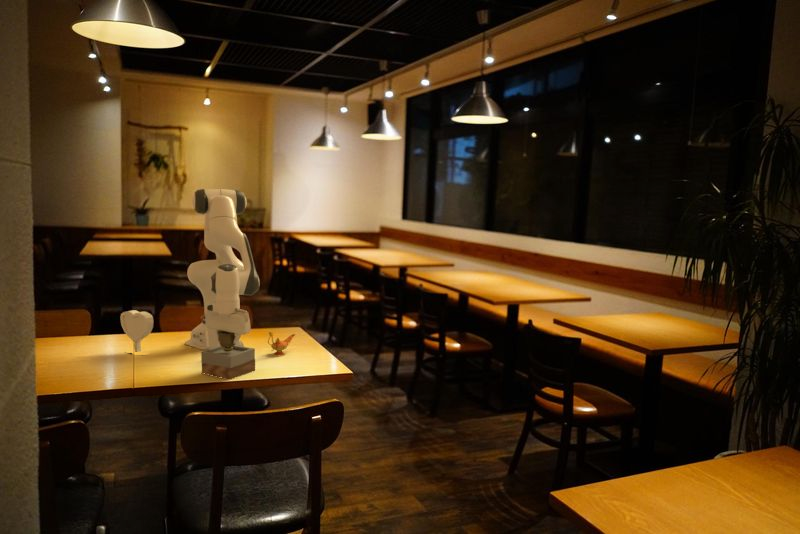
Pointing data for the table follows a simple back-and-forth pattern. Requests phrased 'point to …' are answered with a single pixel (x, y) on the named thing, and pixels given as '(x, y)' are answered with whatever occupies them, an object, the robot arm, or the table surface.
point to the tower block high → (228, 356)
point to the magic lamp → (280, 344)
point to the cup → (226, 340)
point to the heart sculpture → (137, 326)
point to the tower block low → (229, 370)
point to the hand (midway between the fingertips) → (227, 342)
